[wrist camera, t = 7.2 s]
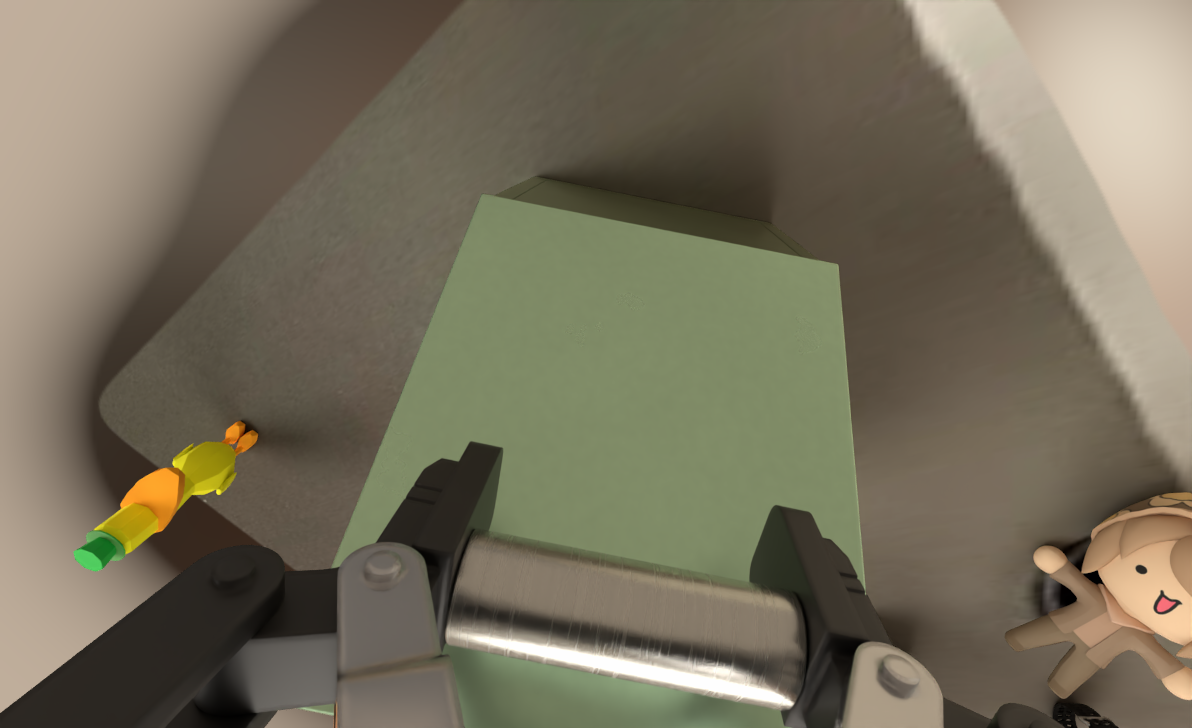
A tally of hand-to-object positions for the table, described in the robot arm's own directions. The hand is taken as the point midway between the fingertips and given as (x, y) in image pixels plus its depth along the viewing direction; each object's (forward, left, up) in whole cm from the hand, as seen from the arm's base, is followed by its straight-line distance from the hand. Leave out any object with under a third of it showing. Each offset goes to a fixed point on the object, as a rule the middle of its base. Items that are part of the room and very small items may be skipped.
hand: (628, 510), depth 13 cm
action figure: (+34, -13, -23) cm, 43 cm away
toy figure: (-25, -17, -23) cm, 38 cm away
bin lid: (0, -1, -5) cm, 5 cm away
